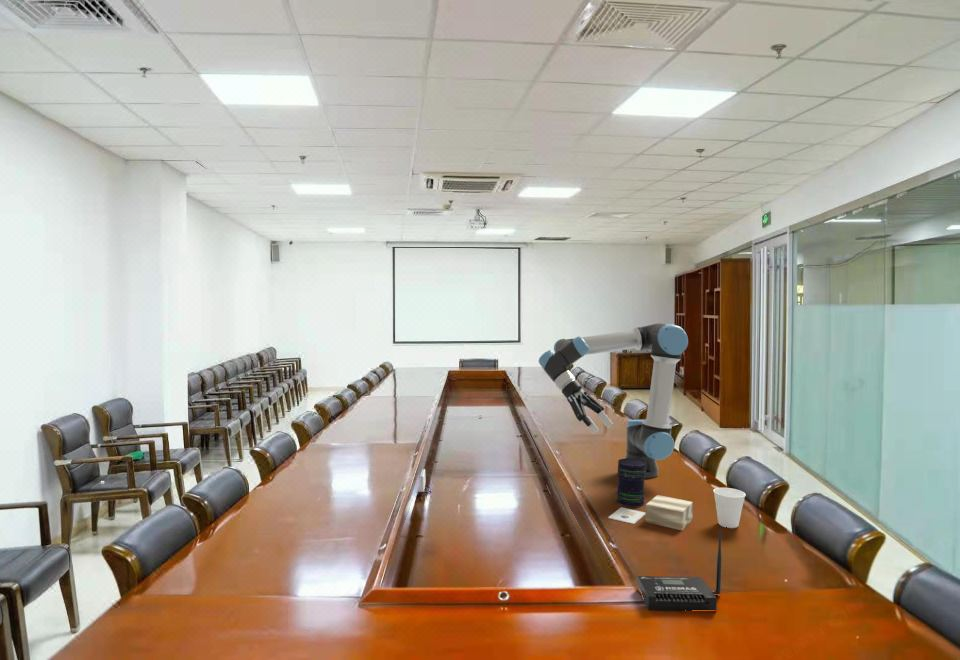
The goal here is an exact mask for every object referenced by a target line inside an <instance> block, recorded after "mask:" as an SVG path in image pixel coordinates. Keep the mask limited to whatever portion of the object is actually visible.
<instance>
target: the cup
mask: <svg viewBox="0 0 960 660" xmlns="http://www.w3.org/2000/svg"><path fill="white" fill-rule="evenodd" d="M712 492H713V494H714V503H715V508H716V516H717V523H718V524H719V526H721V527H723V528H726V527H727V528H726V529H736V528H738V527H739V525H740V519H741V517H742V510H743V505H744V502H745V499H746V498H745V497H747V495H746V493H745V492H744V491H742V490H739V489H737V488H730V487H716V488H714V489H713V490H712Z"/></svg>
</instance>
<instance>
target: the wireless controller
mask: <svg viewBox="0 0 960 660" xmlns="http://www.w3.org/2000/svg"><path fill="white" fill-rule="evenodd" d="M717 548H718V549H717V555H716V571H715V572H716V577H715V578H716V579H715V590H711V589H710V587H709V586H708V584H706V582H705V581H704V579H703V578H702V577H701V576H697V577H696V576H655V575H654V576H649V575H638V576H637V584H638V586H639V588H640V590H641V592H642V595H643V598H644V601H643V603H644V605H645V607H646V608H647V610H648V612H649V611H650V612H686V611H692V610H716V611H717V602H718V598H717V596H715V595H714V594H721V591H722V590H721V589H722V568H723V567H722V563H723V562H722V561H723V560H722V530H719V531H718V547H717ZM685 610H686V611H685Z"/></svg>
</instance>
